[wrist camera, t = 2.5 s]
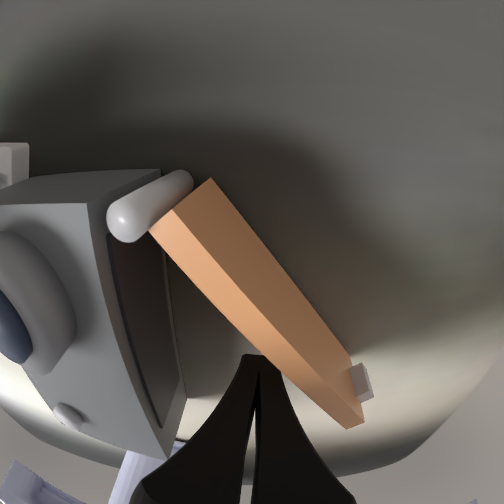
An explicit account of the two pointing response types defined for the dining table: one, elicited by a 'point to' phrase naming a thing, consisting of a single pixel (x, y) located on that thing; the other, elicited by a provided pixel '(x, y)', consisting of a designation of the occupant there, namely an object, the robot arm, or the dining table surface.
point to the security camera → (13, 163)
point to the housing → (90, 310)
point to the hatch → (245, 286)
